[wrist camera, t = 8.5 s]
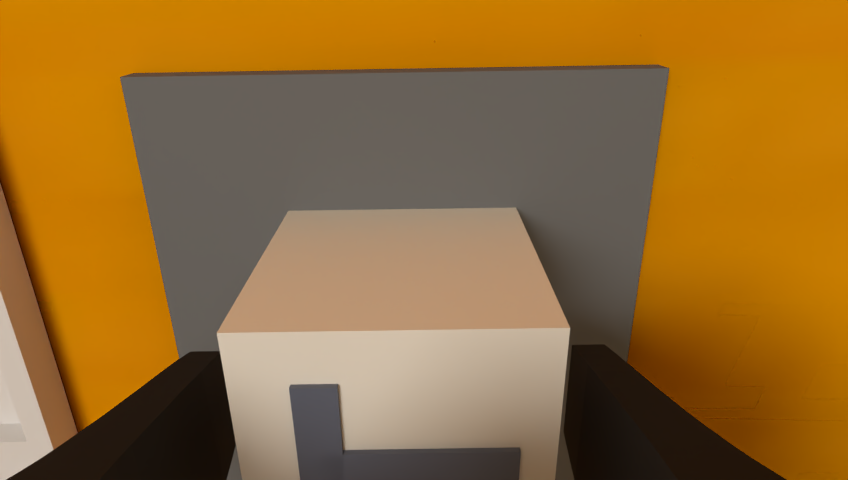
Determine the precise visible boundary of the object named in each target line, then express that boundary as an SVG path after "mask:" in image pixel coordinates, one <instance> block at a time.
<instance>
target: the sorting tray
mask: <svg viewBox="0 0 848 480" xmlns="http://www.w3.org/2000/svg"><path fill="white" fill-rule="evenodd" d="M77 433H78V432H77V429H76V426H75V423H74V419H73V416H72V413H71V410H70V406H69V403H68V400H67V397H66V394H65V390H64V387H63V384H62V381H61V377H60V374H59V371H58V368H57V364H56V361H55V358H54V355H53V352H52V348H51V345H50V342H49V339H48V335H47V332H46V329H45V326H44V323H43V319H42V316H41V313H40V310H39V306H38V303H37V300H36V297H35V293H34V290H33V287H32V284H31V281H30V277H29V274H28V271H27V268H26V264H25V261H24V258H23V255H22V251H21V248H20V245H19V242H18V239H17V235H16V232H15V229H14V226H13V222H12V219H11V216H10V213H9V209H8V206H7V203H6V200H5V197H4V193H3V190H2V187H1V184H0V480H6V479H8V478H10V477H11V476H13V475H15V474H16V473H18V472H20V471H21V470H23V469H24V468H26V467H28V466H29V465H31V464H33V463H34V462H36V461H37V460H39V459H40V458H42V457H44V456H45V455H47V454H48V453H50V452H51V451H53V450H54V449H55V448H57V447H58V446H60V445H61V444H63V443H64V442H66V441H67V440H69V439H70V438H71V437H73V436H74V435H76V434H77Z"/></svg>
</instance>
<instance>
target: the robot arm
mask: <svg viewBox="0 0 848 480" xmlns="http://www.w3.org/2000/svg"><path fill="white" fill-rule="evenodd" d="M563 432H564V437H565V441H566V446H567V450H568V455H569V459H570V464H571V468H572V472H573V476H574V480H786V479H784V478H783V477H781V476H780V475H778V474H776V473H775V472H773V471H771V470H770V469H768V468H767V467H765V466H763V465H762V464H760V463H759V462H757V461H755V460H754V459H752V458H751V457H749V456H748V455H746V454H745V453H743V452H742V451H740V450H739V449H737V448H736V447H734V446H733V445H731V444H730V443H729V442H727V441H726V440H724V439H723V438H722V437H720V436H719V435H718V434H716V433H715V432H713V431H712V430H711V429H709V428H708V427H706V426H705V425H704V424H702V423H701V422H700V421H698V420H697V419H696V418H694V417H693V416H692V415H690V414H689V413H688V412H686V411H685V410H684V409H683V408H681V407H680V406H679V405H677V404H676V403H675V402H674V401H672V400H671V399H670V398H669V397H668V396H666V395H665V394H664V393H663V392H661V391H660V390H659V389H658V388H656V387H655V386H654V385H653V384H652V383H650V382H649V381H648V380H647V379H646V378H645V377H643V376H642V375H641V374H640V373H639V372H637V371H636V370H635V369H634V368H633V367H631V366H630V365H629V364H628V363H627V362H626V361H624V360H623V359H622V358H621V357H620V356H618V355H617V354H616V353H615V352H614V351H612V350H611V349H610V348H609V347H607V346H606V345H605V344H592V345H572V349H571V359H570V370H569V380H568V390H567V400H566V410H565V420H564V430H563ZM235 446H236V442H235V436H234V430H233V424H232V419H231V413H230V407H229V401H228V396H227V390H226V384H225V378H224V373H223V367H222V361H221V355H220V351H193V352H189V353H187V354H186V355H184V356H183V357H181V358H180V359H178V360H177V361H176V362H174V363H173V364H171V365H170V366H169V367H167V368H166V369H165V370H163V371H162V372H161V373H159V374H158V375H157V376H155V377H154V378H153V379H151V380H150V381H149V382H148V383H146V384H145V385H144V386H142V387H141V388H140V389H138V390H137V391H136V392H134V393H133V394H132V395H130V396H129V397H128V398H126V399H125V400H124V401H122V402H121V403H119V404H118V405H117V406H115V407H114V408H113V409H111V410H110V411H109V412H107V413H106V414H105V415H103V416H102V417H101V418H99V419H98V420H96V421H95V422H93V423H92V424H90V425H89V426H87V427H86V428H85V429H83V430H82V431H80V432H79V433H77V434H76V435H74V436H73V437H71V438H70V439H69V440H67V441H66V442H64V443H63V444H61V445H60V446H58V447H57V448H55V449H54V450H53V451H51V452H50V453H48V454H47V455H45V456H44V457H42V458H40V459H39V460H37V461H36V462H34V463H33V464H31V465H29V466H28V467H26V468H24V469H23V470H21V471H20V472H18V473H16V474H15V475H13V476H11V477H10V478H8V479H6V480H227V476H228V473H229V469H230V466H231V462H232V458H233V454H234V450H235Z"/></svg>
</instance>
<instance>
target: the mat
mask: <svg viewBox="0 0 848 480" xmlns="http://www.w3.org/2000/svg"><path fill="white" fill-rule="evenodd" d="M668 73H669V68H667V67H664V66H661V65H610V66H549V67H487V68H426V69H364V70H303V71H241V72H180V73H133V74H129V75H126V76H122V77H120V79H121V84H122V89H123V93H124V98H125V103H126V107H127V112H128V117H129V122H130V126H131V131H132V136H133V141H134V145H135V150H136V155H137V160H138V164H139V169H140V174H141V179H142V183H143V188H144V193H145V198H146V202H147V207H148V212H149V217H150V221H151V226H152V231H153V235H154V240H155V245H156V250H157V254H158V259H159V264H160V269H161V273H162V278H163V283H164V288H165V292H166V297H167V302H168V307H169V311H170V316H171V321H172V326H173V330H174V335H175V340H176V345H177V349H178V354H179V359H180V358H181V357H183V356H184V355H186V354H187V353H189V352H193V351H220V350H219V344H218V338H217V332H218V330H219V328H220V326H221V325H222V323H223V321H224V320H225V318H226V316H227V314H228V313H229V311H230V309H231V308H232V306H233V304H234V303H235V301H236V299H237V297H238V296H239V294H240V292H241V291H242V289H243V287H244V286H245V284H246V282H247V280H248V279H249V277H250V275H251V274H252V272H253V270H254V268H255V267H256V265H257V263H258V262H259V260H260V258H261V257H262V255H263V253H264V251H265V250H266V248H267V246H268V245H269V243H270V241H271V240H272V238H273V236H274V234H275V233H276V231H277V229H278V228H279V226H280V224H281V223H282V221H283V219H284V217H285V216H286V214H287V212H288V211H303V210H376V209H450V208H516V209H517V211H518V213H519V215H520V217H521V220H522V222H523V224H524V226H525V229H526V231H527V233H528V235H529V237H530V240H531V242H532V244H533V246H534V249H535V251H536V253H537V255H538V257H539V260H540V262H541V264H542V266H543V269H544V271H545V273H546V275H547V277H548V280H549V282H550V284H551V286H552V289H553V291H554V293H555V295H556V297H557V300H558V302H559V304H560V306H561V309H562V311H563V313H564V315H565V317H566V320H567V322H568V324H569V326H570V335H569V345H568V355H567V365H566V375H565V385H564V395H563V405H562V415H561V425H560V435H559V445H558V455H557V465H556V475H555V480H574V476H573V472H572V468H571V464H570V459H569V455H568V450H567V446H566V441H565V437H564V432H563V430H564V420H565V410H566V400H567V390H568V380H569V370H570V359H571V349H572V345H592V344H605V345H606V346H607V347H609V348H610V349H611V350H612V351H614V352H615V353H616V354H617V355H618V356H620V357H621V358H622V359H623V360H624V361H626V362H627V359H628V352H629V345H630V338H631V331H632V324H633V317H634V310H635V303H636V296H637V289H638V282H639V275H640V268H641V261H642V254H643V247H644V240H645V234H646V227H647V220H648V213H649V206H650V199H651V192H652V185H653V178H654V171H655V164H656V157H657V150H658V143H659V136H660V129H661V122H662V115H663V108H664V101H665V94H666V87H667V80H668ZM227 480H242V476H241V470H240V465H239V459H238V453H237V447H236V446H235V450H234V454H233V458H232V462H231V466H230V469H229V473H228V476H227Z"/></svg>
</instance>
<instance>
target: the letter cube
mask: <svg viewBox="0 0 848 480" xmlns="http://www.w3.org/2000/svg"><path fill="white" fill-rule="evenodd" d="M569 335H570V326H569V324H568V322H567V320H566V317H565V315H564V313H563V311H562V309H561V306H560V304H559V302H558V300H557V297H556V295H555V293H554V291H553V289H552V286H551V284H550V282H549V280H548V277H547V275H546V273H545V271H544V269H543V266H542V264H541V262H540V260H539V257H538V255H537V253H536V251H535V249H534V246H533V244H532V242H531V240H530V237H529V235H528V233H527V231H526V229H525V226H524V224H523V222H522V220H521V217H520V215H519V213H518V211H517V209H516V208H450V209H376V210H303V211H288V212H287V214H286V216H285V217H284V219H283V221H282V223H281V224H280V226H279V228H278V229H277V231H276V233H275V234H274V236H273V238H272V240H271V241H270V243H269V245H268V246H267V248H266V250H265V251H264V253H263V255H262V257H261V258H260V260H259V262H258V263H257V265H256V267H255V268H254V270H253V272H252V274H251V275H250V277H249V279H248V280H247V282H246V284H245V286H244V287H243V289H242V291H241V292H240V294H239V296H238V297H237V299H236V301H235V303H234V304H233V306H232V308H231V309H230V311H229V313H228V314H227V316H226V318H225V320H224V321H223V323H222V325H221V326H220V328H219V330H218V332H217V338H218V344H219V350H220V355H221V361H222V367H223V373H224V378H225V384H226V390H227V396H228V401H229V407H230V413H231V419H232V424H233V430H234V436H235V442H236V447H237V453H238V459H239V465H240V470H241V476H242V480H555V475H556V465H557V455H558V445H559V435H560V425H561V415H562V405H563V395H564V385H565V375H566V365H567V355H568V345H569Z"/></svg>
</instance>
